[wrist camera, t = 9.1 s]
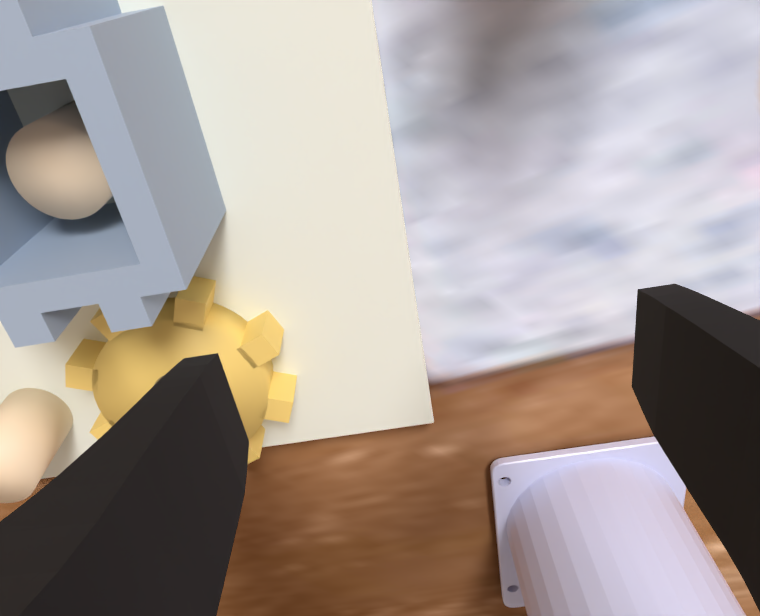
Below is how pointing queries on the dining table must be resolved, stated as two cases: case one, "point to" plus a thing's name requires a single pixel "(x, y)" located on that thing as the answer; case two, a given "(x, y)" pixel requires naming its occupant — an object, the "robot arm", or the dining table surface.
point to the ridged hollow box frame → (104, 170)
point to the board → (239, 245)
